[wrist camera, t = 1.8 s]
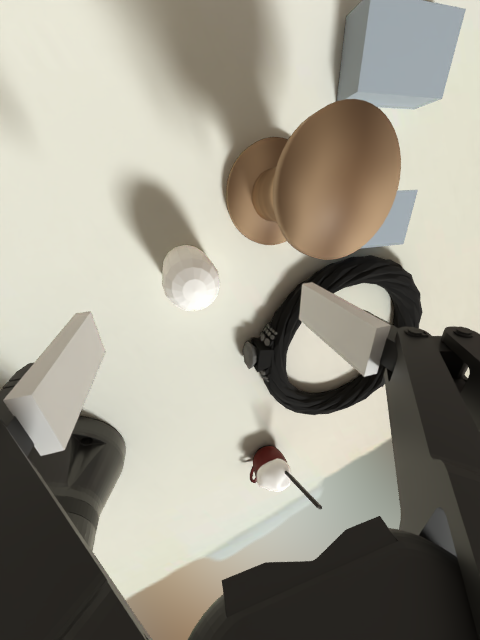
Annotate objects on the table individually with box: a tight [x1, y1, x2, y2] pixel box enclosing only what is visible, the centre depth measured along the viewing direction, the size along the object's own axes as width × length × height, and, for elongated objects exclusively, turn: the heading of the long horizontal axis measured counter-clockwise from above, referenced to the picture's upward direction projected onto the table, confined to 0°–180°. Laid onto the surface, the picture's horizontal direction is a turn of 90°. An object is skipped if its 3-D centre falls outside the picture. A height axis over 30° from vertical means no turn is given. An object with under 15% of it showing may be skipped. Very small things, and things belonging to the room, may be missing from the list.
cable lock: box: [243, 255, 422, 415], centre depth 36 cm, size 28×4×30 cm
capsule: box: [162, 245, 220, 311], centre depth 23 cm, size 5×5×8 cm
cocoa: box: [250, 446, 322, 509], centre depth 40 cm, size 10×6×12 cm, turn 104°
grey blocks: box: [337, 0, 466, 249], centre depth 25 cm, size 10×20×3 cm, turn 2°
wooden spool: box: [226, 99, 401, 260], centre depth 20 cm, size 10×10×12 cm
